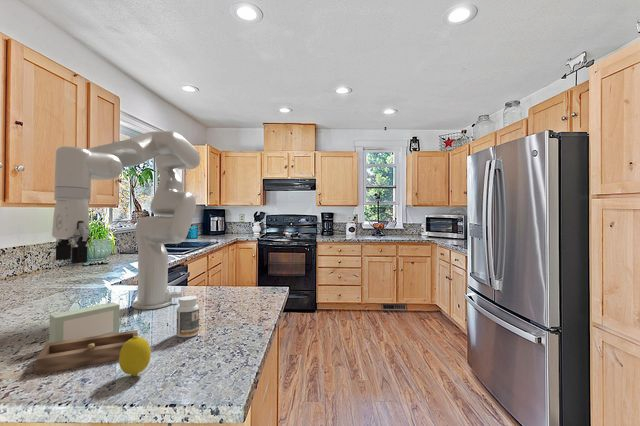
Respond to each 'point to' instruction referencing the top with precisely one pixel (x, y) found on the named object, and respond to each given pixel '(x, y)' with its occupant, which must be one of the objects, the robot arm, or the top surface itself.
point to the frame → (84, 322)
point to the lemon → (134, 356)
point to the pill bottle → (187, 317)
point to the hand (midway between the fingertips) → (70, 261)
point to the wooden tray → (81, 351)
